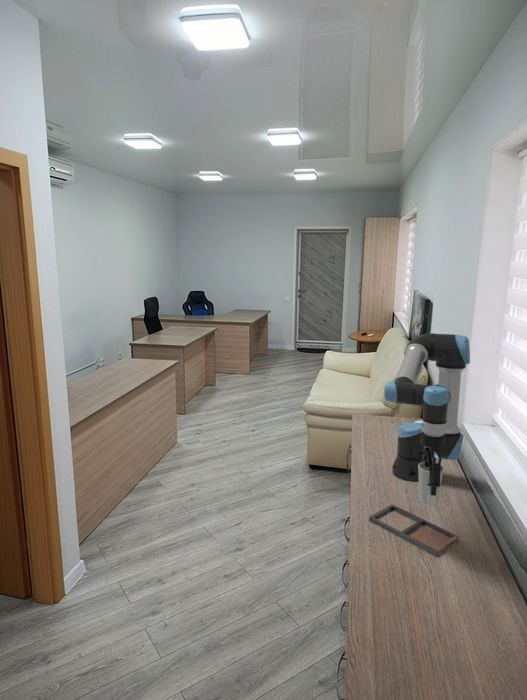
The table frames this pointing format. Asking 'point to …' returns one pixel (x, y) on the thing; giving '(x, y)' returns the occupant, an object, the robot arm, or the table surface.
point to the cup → (424, 480)
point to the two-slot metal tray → (418, 532)
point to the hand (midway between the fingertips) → (428, 496)
